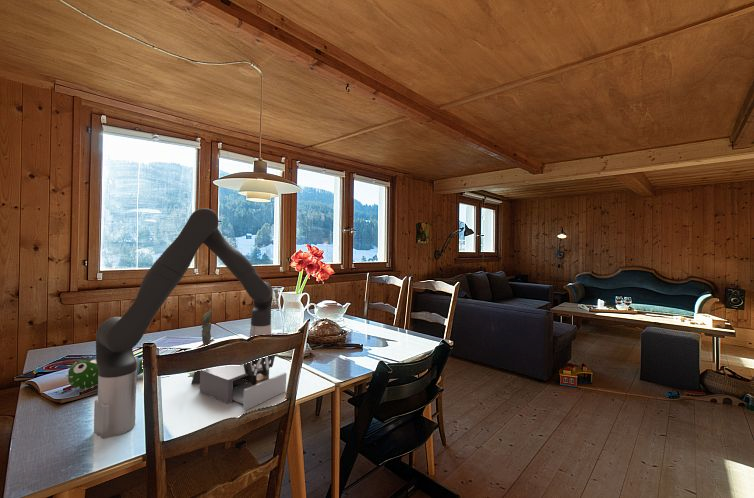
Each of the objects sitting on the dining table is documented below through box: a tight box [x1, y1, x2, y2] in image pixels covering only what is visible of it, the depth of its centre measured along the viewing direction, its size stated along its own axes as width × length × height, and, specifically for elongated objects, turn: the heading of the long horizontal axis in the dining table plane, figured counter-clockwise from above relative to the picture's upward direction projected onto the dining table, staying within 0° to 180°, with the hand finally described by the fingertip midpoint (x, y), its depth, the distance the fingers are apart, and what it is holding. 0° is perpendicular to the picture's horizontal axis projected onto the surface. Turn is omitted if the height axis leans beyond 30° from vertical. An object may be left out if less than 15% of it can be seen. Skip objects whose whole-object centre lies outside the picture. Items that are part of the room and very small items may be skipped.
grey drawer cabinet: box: [199, 364, 270, 404], centre depth 135 cm, size 16×19×8 cm
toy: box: [65, 356, 143, 391], centre depth 136 cm, size 22×11×30 cm
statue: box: [190, 307, 214, 385], centre depth 141 cm, size 7×8×30 cm
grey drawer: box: [232, 372, 287, 412], centre depth 130 cm, size 16×19×7 cm
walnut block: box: [250, 374, 268, 387], centre depth 129 cm, size 4×4×4 cm
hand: (259, 382), depth 129 cm, fingers closed on walnut block, 4 cm apart
